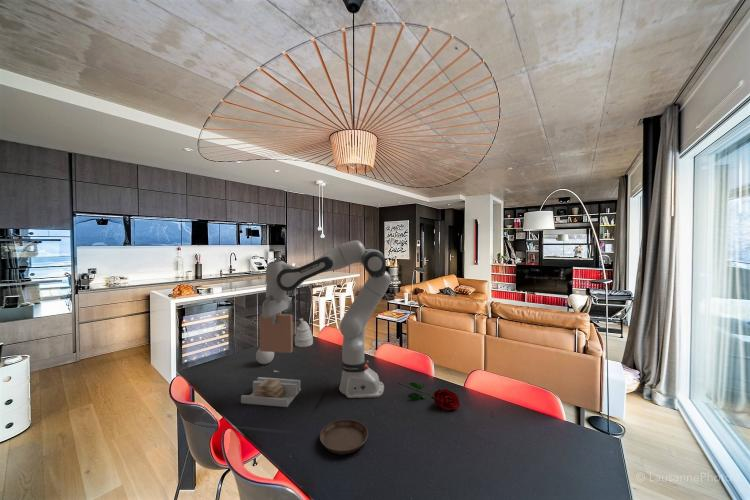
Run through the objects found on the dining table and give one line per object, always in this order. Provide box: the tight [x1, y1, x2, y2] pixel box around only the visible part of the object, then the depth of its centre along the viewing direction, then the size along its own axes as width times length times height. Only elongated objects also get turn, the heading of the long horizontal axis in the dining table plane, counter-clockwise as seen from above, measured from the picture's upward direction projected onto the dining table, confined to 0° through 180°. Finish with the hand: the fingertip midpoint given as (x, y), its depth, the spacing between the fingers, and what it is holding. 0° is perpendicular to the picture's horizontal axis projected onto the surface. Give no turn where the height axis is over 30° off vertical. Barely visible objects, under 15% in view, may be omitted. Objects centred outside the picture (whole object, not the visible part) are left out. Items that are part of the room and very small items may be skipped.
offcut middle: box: [256, 386, 283, 398], centre depth 133 cm, size 10×6×2 cm, turn 82°
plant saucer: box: [319, 419, 369, 455], centre depth 106 cm, size 18×18×3 cm
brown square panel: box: [258, 313, 294, 354], centre depth 139 cm, size 16×2×18 cm, turn 82°
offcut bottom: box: [255, 391, 285, 398], centre depth 133 cm, size 12×6×2 cm, turn 82°
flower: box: [397, 381, 461, 412], centre depth 132 cm, size 9×9×30 cm
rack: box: [240, 376, 302, 408], centre depth 136 cm, size 22×16×6 cm
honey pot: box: [294, 318, 314, 348], centre depth 209 cm, size 13×13×18 cm
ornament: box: [255, 348, 275, 365], centre depth 175 cm, size 10×10×12 cm
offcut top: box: [258, 380, 281, 392], centre depth 133 cm, size 8×6×2 cm
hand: (276, 322), depth 139 cm, fingers closed on brown square panel, 2 cm apart
